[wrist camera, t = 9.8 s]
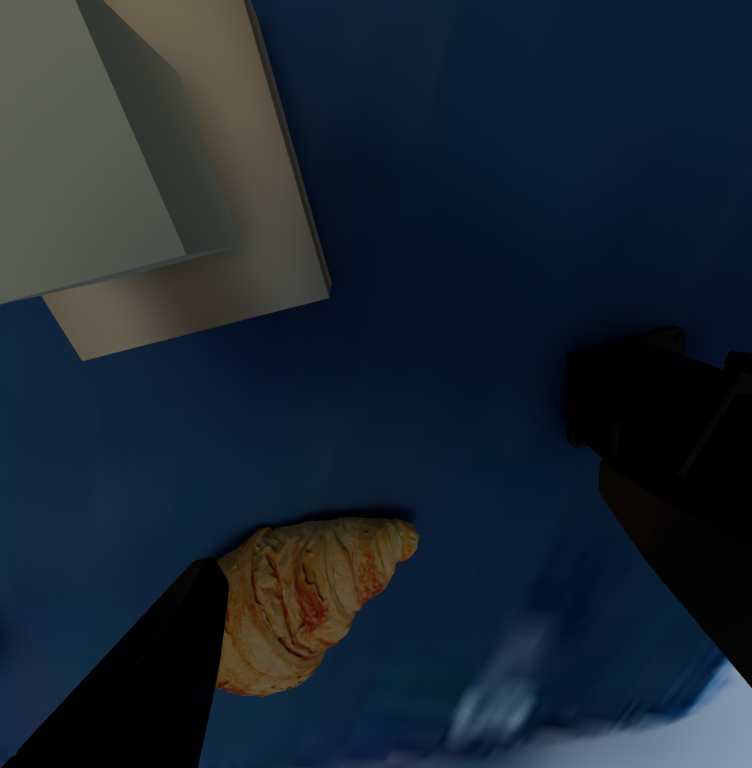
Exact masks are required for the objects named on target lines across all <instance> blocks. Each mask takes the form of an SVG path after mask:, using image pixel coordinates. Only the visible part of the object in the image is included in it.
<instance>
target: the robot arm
mask: <svg viewBox="0 0 752 768" xmlns="http://www.w3.org/2000/svg"><path fill="white" fill-rule="evenodd" d="M674 334H675V335H674ZM673 335H674V337H673ZM685 335H686V333H685V330H684V329H683V328H680V327H677V326H670V327H666V328H662V329H658V330H654V331H650V332H646V333H643V334H639V335H635V336H631V337H627V338H623V339H619V340H615V341H611V342H607V343H603V344H599V345H595V346H591V347H587V348H583V349H579V350H575V351H573V352H572V353H571V354H570V355H569V356H568V360H567V390H566V426H567V427H568V442H569V443H570V444H571V445H572V446H573V447H575V448H580V447H584V446H589V447H591V448H592V449H593V450H594V451H595V452H596V453H597V454H599V455H600V456H601V457H602V458H603V460H602V461H601V463H600V474H599V490H600V493H601V496H602V498H603V499H604V501H605V502H606V504H607V505H608V506H609V508H610V509H611V511H612V512H613V514H614V515H615V517H616V518H617V520H618V521H619V522H620V524H621V525H622V527H623V528H624V530H625V531H626V533H627V534H628V536H629V537H630V538H631V540H632V541H633V543H634V544H635V546H636V547H637V549H638V550H639V552H640V553H641V554H642V556H643V557H644V558H645V560H646V561H647V562H648V564H649V565H650V566H651V567H652V569H653V570H654V571H655V572H656V574H657V575H658V576H659V577H660V578H661V580H662V581H663V582H664V583H665V584H666V586H667V587H668V588H669V589H670V590H671V592H672V593H673V594H674V595H675V596H676V598H677V599H678V600H679V601H680V602H681V604H682V605H683V606H684V607H685V608H686V610H687V611H688V612H689V613H690V614H691V616H692V617H693V618H694V619H695V620H696V622H697V623H698V624H699V625H700V626H701V628H702V629H703V630H704V631H705V632H706V634H707V635H708V636H709V637H710V638H711V640H712V641H713V642H714V643H715V644H716V646H717V647H718V648H719V649H720V650H721V652H722V653H723V654H724V655H725V656H726V658H727V659H728V660H729V661H730V662H731V664H732V665H733V666H734V667H735V668H736V670H737V671H738V672H739V673H740V674H741V676H742V677H743V678H744V679H745V680H746V682H747V683H748V684H749V685H750V687H751V688H752V354H749V353H743V352H737V351H730V352H729V354H728V356H727V357H726V359H725V361H724V362H723V363H725V364H726V365H725V366H724V368H723V370H722V369H719V368H716V367H714V366H711V365H708V364H705V363H703V362H700V361H697V360H694V359H692V358H689V357H686V356H684V355H683V349H684V342H685ZM672 337H673V338H672ZM578 357H580V360H579V361H578V362H576V359H577V358H578ZM578 438H579V439H578ZM577 439H578V440H577ZM576 440H577V441H576ZM228 597H229V583H228V580H227V578H226V576H225V574H224V573H223V571H222V569H221V568H220V566H219V565H218V563H217V561H216V560H215V559H214V558H212V557H208V558H204V559H200V560H196V561H194V562H193V563H192V564H190V565H189V567H188V568H187V569H186V570H185V571H184V572H183V573H182V574H181V575H180V576H179V577H178V578H177V579H176V581H175V582H174V583H173V584H172V585H171V586H170V587H169V588H168V589H167V590H166V591H165V592H164V593H163V594H162V596H161V597H160V598H159V599H158V600H157V601H156V602H155V603H154V604H153V605H152V606H151V607H150V608H149V610H148V611H147V612H146V613H145V614H144V615H143V616H142V617H141V618H140V619H139V620H138V621H137V622H136V624H135V625H134V626H133V627H132V628H131V629H130V630H129V631H128V632H127V633H126V634H125V635H124V636H123V638H122V639H121V640H120V641H119V642H118V643H117V644H116V645H115V646H114V647H113V648H112V649H111V650H110V651H109V653H108V654H107V655H106V656H105V657H104V658H103V659H102V660H101V661H100V662H99V663H98V664H97V665H96V667H95V668H94V669H93V670H92V671H91V672H90V673H89V674H88V675H87V676H86V677H85V678H84V679H83V680H82V682H81V683H80V684H79V685H78V686H77V687H76V688H75V689H74V690H73V691H72V692H71V693H70V694H69V696H68V697H67V698H66V699H65V700H64V701H63V702H62V703H61V704H60V705H59V706H58V707H57V708H56V709H55V711H54V712H53V713H52V714H51V715H50V716H49V717H48V718H47V719H46V720H45V721H44V722H43V723H42V725H41V726H40V727H39V728H38V729H37V730H36V731H35V732H34V733H33V734H32V735H31V736H30V737H29V738H28V740H27V741H26V742H25V743H24V744H23V745H22V746H21V747H20V748H19V749H18V751H17V753H16V755H14V756H12V757H11V758H10V759H9V760H8V761H7V762H6V763H5V764H4V765H3V766H2V767H1V768H198V764H199V759H200V755H201V750H202V746H203V741H204V737H205V732H206V727H207V723H208V718H209V714H210V709H211V704H212V700H213V695H214V691H215V686H216V681H217V676H218V671H219V666H220V660H221V653H222V645H223V637H224V629H225V621H226V613H227V605H228Z"/></svg>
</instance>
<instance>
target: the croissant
mask: <svg viewBox="0 0 752 768" xmlns="http://www.w3.org/2000/svg"><path fill="white" fill-rule="evenodd" d="M418 539H419V535H418V534H417V531H416V529H414V528H413V524H411V523H408V522H406V521H403V520H399V519H392V520H391V519H387V518H382V519H380V518H362V517H345V518H342V517H340V518H338V519H333V520H321V521H312V520H310V521H307V522H303V523H300V524H295V525H291V526H283V527H279V528H277V529H275V530H273V531H272V528H270V527H266V528H261V529H258V530H257V531H256V532H255V533H254V534H253V535H252V536H251V537H250V538H249V539H248V540H247V541H246V542H244V543H243V544H242V545H240V546H239V547H238V548H236V549H235V550H234V551H230V552H229V553H227V554H226V555H224V556H223V557H222V558H221V559H219V560H218V561H217V563H218V565H219V566H220V568H221V569H222V571H223V573H224V574H225V576H226V578H227V580H228V583H229V597H228V605H227V613H226V621H225V629H224V637H223V645H222V653H221V660H220V666H219V671H218V676H217V681H216V686H215V687H218V689H220V688H222V689H223V690H225V691H226V692H230V693H234V694H240V695H244V696H251V695H257V696H260V697H262V696H266V695H270V694H273V693H275V692H279V691H283V690H291V689H292V687H296V686H298V685H299V684H301V683H302V682H303V681H305V680H306V679H307V678H308V677H310V676H311V675H312V674H313V673H314V672H315V671H316V669H317V668H318V666H319V665H320V663H321V660H322V659H323V657H324V654H325V652H326V649H328V648H330V647H331V646H334V645H335V644H337V643H339V642H340V640H341V639H342V638H343V637H344V636H345V635H346V634H347V633H348V631H349V629H350V627H351V625H352V619H353V618H354V617H355V613H356V611H357V610H360V608H361V607H362V605H363V604H364V603H365V602H367V601H368V600H370V599H371V598H372V597H374V596H375V595H377V594H379V593H381V592H383V591H384V589H385V588H386V587H387V584H388V583H389V581H390V580H391V576H392V575H393V574H394V572H395V566H396V563H397V562H401V561H405V560H407V559H409V558H410V556H411V555H412V554H413V553H414V552H415V550H416V549H417V547H418Z"/></svg>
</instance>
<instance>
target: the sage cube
mask: <svg viewBox="0 0 752 768" xmlns="http://www.w3.org/2000/svg"><path fill="white" fill-rule="evenodd" d="M239 246H242V244H241V241H240V238H239V236H238V233H237V230H236V228H235V225H234V222H233V219H232V217H231V214H230V211H229V209H228V206H227V203H226V201H225V198H224V195H223V192H222V190H221V187H220V184H219V182H218V179H217V176H216V173H215V171H214V168H213V165H212V163H211V160H210V157H209V155H208V152H207V149H206V146H205V144H204V141H203V138H202V136H201V133H200V130H199V128H198V125H197V122H196V119H195V117H194V114H193V111H192V109H191V106H190V103H189V100H188V98H187V95H186V92H185V90H184V87H183V84H182V82H181V79H180V76H179V73H178V72H177V71H176V70H175V69H174V68H173V67H172V66H171V65H170V64H169V63H168V62H167V61H166V60H164V59H163V58H162V57H161V56H160V55H159V54H158V53H157V52H156V51H155V50H154V49H153V48H152V47H151V46H150V45H149V44H148V43H147V42H146V41H145V40H144V39H143V38H142V37H141V36H140V35H138V34H137V33H136V32H135V31H134V30H133V29H132V28H131V27H130V26H129V25H128V24H127V23H126V22H125V21H124V20H123V19H122V18H121V17H120V16H119V15H118V14H117V13H116V12H115V11H114V10H113V9H111V8H110V7H109V6H108V5H107V4H106V3H105V2H104V1H103V0H0V304H4V303H8V302H13V301H18V300H22V299H27V298H31V297H36V296H40V295H45V294H50V293H54V292H59V291H63V290H68V289H72V288H77V287H82V286H86V285H91V284H95V283H100V282H104V281H109V280H113V279H117V278H121V277H124V276H128V275H132V274H136V273H140V272H144V271H147V270H151V269H155V268H159V267H163V266H167V265H170V264H174V263H178V262H182V261H186V260H190V259H193V258H197V257H201V256H205V255H209V254H213V253H216V252H220V251H224V250H228V249H232V248H235V247H239Z"/></svg>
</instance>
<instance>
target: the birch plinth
mask: <svg viewBox="0 0 752 768" xmlns="http://www.w3.org/2000/svg"><path fill="white" fill-rule="evenodd" d="M103 1H104V2H105V3H106V4H107V5H108V6H109V7H110V8H111V9H113V10H114V11H115V12H116V13H117V14H118V15H119V16H120V17H121V18H122V19H123V20H124V21H125V22H126V23H127V24H128V25H129V26H130V27H131V28H132V29H133V30H134V31H135V32H136V33H137V34H138V35H140V36H141V37H142V38H143V39H144V40H145V41H146V42H147V43H148V44H149V45H150V46H151V47H152V48H153V49H154V50H155V51H156V52H157V53H158V54H159V55H160V56H161V57H162V58H163V59H164V60H166V61H167V62H168V63H169V64H170V65H171V66H172V67H173V68H174V69H175V70H176V71H177V72H178V73H179V76H180V79H181V82H182V84H183V87H184V90H185V92H186V95H187V98H188V100H189V103H190V106H191V109H192V111H193V114H194V117H195V119H196V122H197V125H198V128H199V130H200V133H201V136H202V138H203V141H204V144H205V146H206V149H207V152H208V155H209V157H210V160H211V163H212V165H213V168H214V171H215V173H216V176H217V179H218V182H219V184H220V187H221V190H222V192H223V195H224V198H225V201H226V203H227V206H228V209H229V211H230V214H231V217H232V219H233V222H234V225H235V228H236V230H237V233H238V236H239V238H240V241H241V244H242V246H239V247H235V248H232V249H228V250H224V251H220V252H216V253H213V254H209V255H205V256H201V257H197V258H193V259H190V260H186V261H182V262H178V263H174V264H170V265H167V266H163V267H159V268H155V269H151V270H147V271H144V272H140V273H136V274H132V275H128V276H124V277H121V278H117V279H113V280H109V281H104V282H100V283H95V284H91V285H86V286H82V287H77V288H72V289H68V290H63V291H59V292H54V293H50V294H45V295H41V296H42V298H43V299H44V301H45V302H46V304H47V306H48V307H49V309H50V310H51V312H52V314H53V315H54V317H55V318H56V320H57V321H58V323H59V325H60V326H61V328H62V329H63V331H64V333H65V334H66V336H67V337H68V339H69V341H70V342H71V344H72V345H73V347H74V349H75V350H76V352H77V353H78V355H79V357H80V358H81V360H82V361H84V360H88V359H92V358H96V357H100V356H104V355H108V354H112V353H116V352H120V351H124V350H128V349H131V348H135V347H139V346H143V345H147V344H151V343H155V342H159V341H163V340H167V339H171V338H175V337H178V336H182V335H186V334H190V333H194V332H198V331H202V330H206V329H210V328H214V327H218V326H221V325H225V324H229V323H233V322H237V321H241V320H245V319H249V318H253V317H257V316H261V315H265V314H268V313H272V312H276V311H280V310H284V309H288V308H292V307H296V306H300V305H304V304H308V303H312V302H315V301H319V300H323V299H327V298H329V296H330V290H331V285H332V283H331V279H330V276H329V272H328V269H327V265H326V262H325V258H324V254H323V251H322V247H321V244H320V240H319V236H318V233H317V229H316V226H315V222H314V219H313V215H312V211H311V208H310V204H309V201H308V197H307V194H306V190H305V186H304V183H303V179H302V176H301V172H300V168H299V165H298V161H297V158H296V154H295V151H294V147H293V143H292V140H291V136H290V133H289V129H288V125H287V122H286V118H285V115H284V111H283V108H282V104H281V100H280V97H279V93H278V90H277V86H276V82H275V79H274V75H273V72H272V68H271V65H270V61H269V57H268V54H267V50H266V47H265V43H264V39H263V36H262V32H261V29H260V25H259V22H258V18H257V15H256V13H255V10H254V8H253V5H252V3H251V0H103Z"/></svg>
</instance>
